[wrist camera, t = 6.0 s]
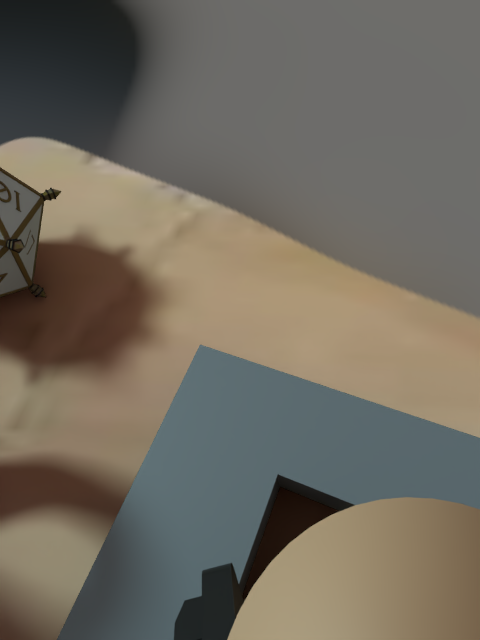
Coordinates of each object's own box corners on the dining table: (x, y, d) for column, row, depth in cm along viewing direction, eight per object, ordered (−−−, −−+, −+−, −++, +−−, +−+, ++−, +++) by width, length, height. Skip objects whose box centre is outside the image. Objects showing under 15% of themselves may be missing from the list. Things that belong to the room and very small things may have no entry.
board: (29, 760, 14) (-18, 793, 12) (210, 369, 20) (200, 344, 18) (611, 1156, 10) (699, 1317, 8) (627, 514, 16) (681, 505, 14)
